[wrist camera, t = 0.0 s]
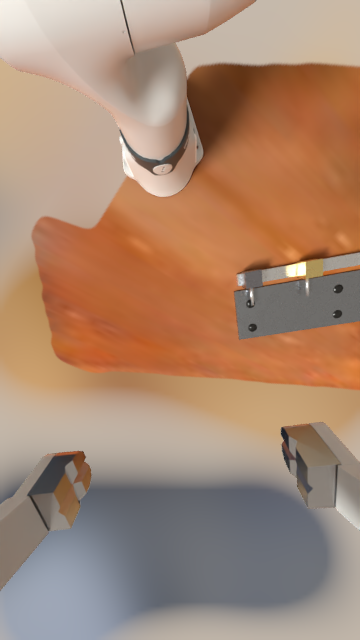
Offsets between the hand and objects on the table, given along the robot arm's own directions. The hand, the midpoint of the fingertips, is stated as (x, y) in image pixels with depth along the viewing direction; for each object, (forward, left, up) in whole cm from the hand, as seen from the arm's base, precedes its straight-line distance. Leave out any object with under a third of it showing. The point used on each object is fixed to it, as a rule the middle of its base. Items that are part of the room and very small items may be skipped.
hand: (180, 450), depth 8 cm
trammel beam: (+2, +31, -48) cm, 57 cm away
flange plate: (+9, +31, -48) cm, 58 cm away
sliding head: (+2, +31, -46) cm, 56 cm away
